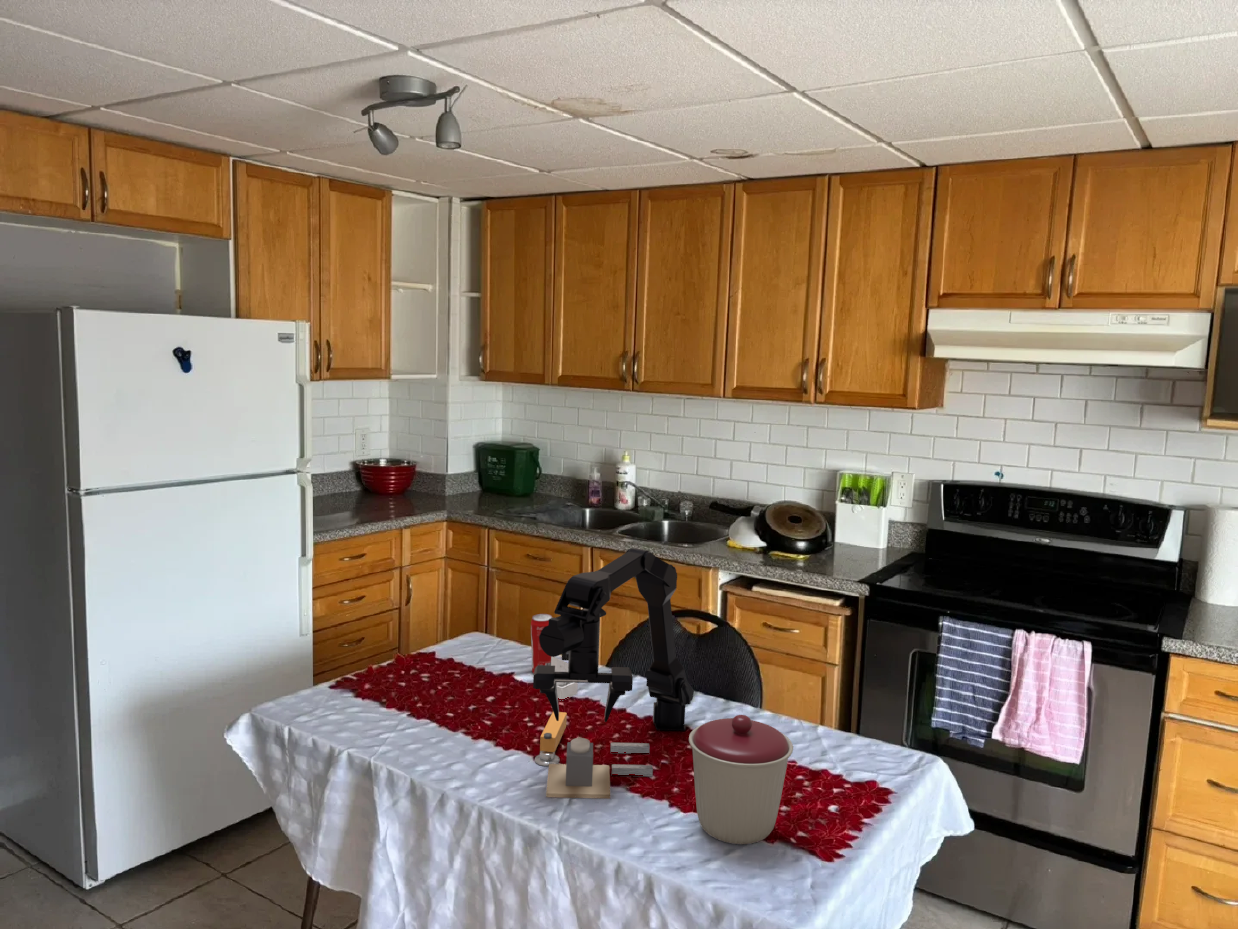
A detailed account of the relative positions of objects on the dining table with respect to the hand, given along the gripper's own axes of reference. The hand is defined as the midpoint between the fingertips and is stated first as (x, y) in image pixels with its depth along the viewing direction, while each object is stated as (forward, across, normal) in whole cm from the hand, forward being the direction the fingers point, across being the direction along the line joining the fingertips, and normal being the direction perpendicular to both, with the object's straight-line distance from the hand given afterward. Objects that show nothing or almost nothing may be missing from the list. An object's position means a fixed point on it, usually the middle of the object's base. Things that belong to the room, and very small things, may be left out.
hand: (581, 720), depth 180 cm
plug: (+12, 0, +1) cm, 12 cm away
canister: (+13, -28, +17) cm, 35 cm away
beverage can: (+13, +10, -57) cm, 60 cm away
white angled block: (+13, +4, -43) cm, 45 cm away
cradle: (+12, -3, -8) cm, 15 cm away
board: (+12, 0, +1) cm, 12 cm away
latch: (+10, +6, -14) cm, 19 cm away
